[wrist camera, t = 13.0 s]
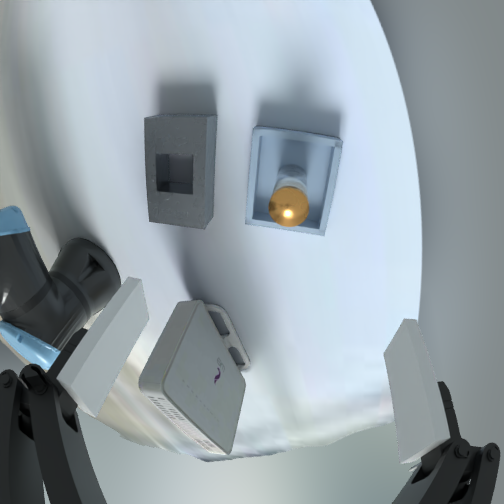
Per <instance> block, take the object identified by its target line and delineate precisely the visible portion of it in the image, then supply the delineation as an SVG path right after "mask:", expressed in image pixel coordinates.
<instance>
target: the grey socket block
mask: <svg viewBox="0 0 504 504" xmlns="http://www.w3.org/2000/svg"><path fill="white" fill-rule="evenodd" d="M216 130H217V115H156V116H151V117H146V118H144V131H145V169H146V187H147V201H148V213H149V222H155V223H163V224H170V225H177V226H185V227H192V228H199V229H205V228H206V226H207V225H208V223H209V222H210V221H211V219H212V218H213V207H214V174H215V150H216ZM169 154H186V155H193V184H189V183H178V182H170V177H169Z"/></svg>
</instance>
